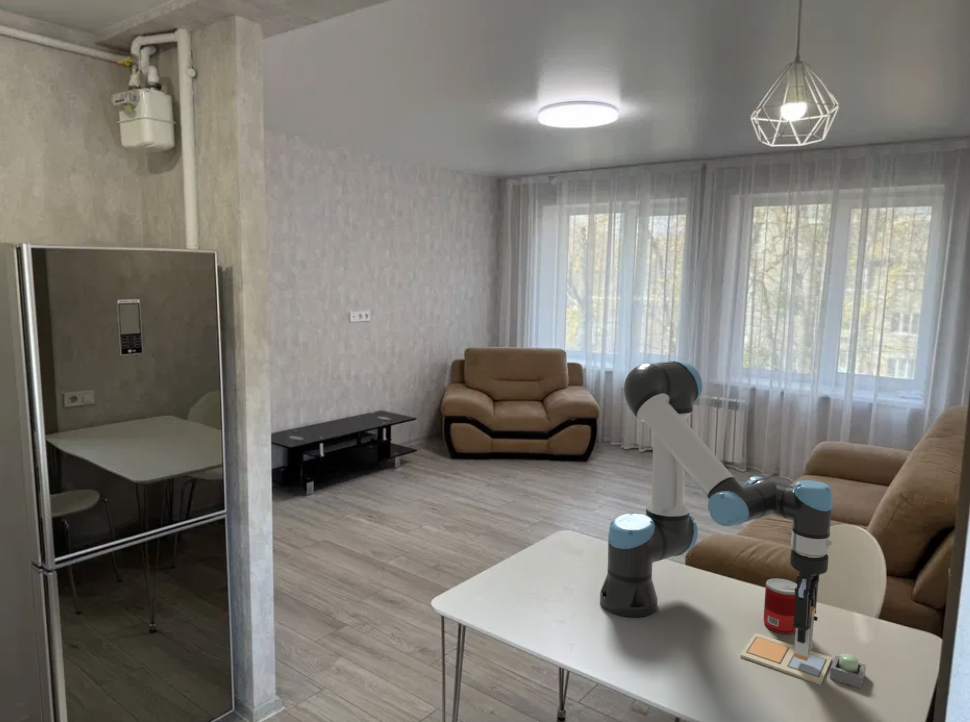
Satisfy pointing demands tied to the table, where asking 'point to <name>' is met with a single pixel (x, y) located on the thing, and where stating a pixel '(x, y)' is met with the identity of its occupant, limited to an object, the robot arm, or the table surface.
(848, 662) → the button
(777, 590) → the canned food
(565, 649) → the table surface
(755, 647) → the sheet
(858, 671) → the button collar
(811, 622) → the marker
